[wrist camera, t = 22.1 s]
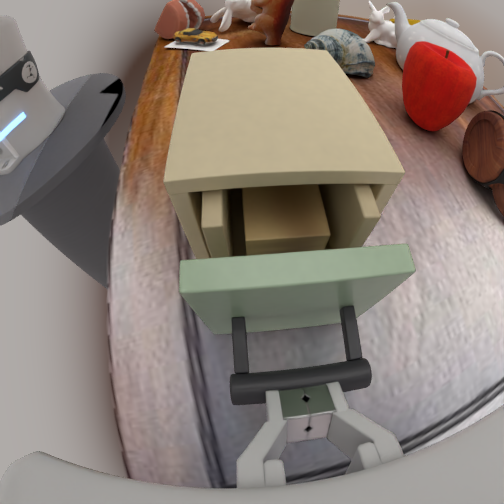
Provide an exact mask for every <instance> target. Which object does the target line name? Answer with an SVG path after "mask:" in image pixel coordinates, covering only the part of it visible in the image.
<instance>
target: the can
mask: <svg viewBox="0 0 504 504" xmlns="http://www.w3.org/2000/svg"><path fill="white" fill-rule="evenodd" d="M339 2H340V0H294V3H293V5H292V15H291V25H290V29H291V30H293V31H295V32H297V33H301V34H304V35H309V36H318V35H319V34H320V33H322V32H324V31H326V30H329V29H336V25H337V17H338V10H339Z"/></svg>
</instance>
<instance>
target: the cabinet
mask: <svg viewBox="0 0 504 504" xmlns="http://www.w3.org/2000/svg"><path fill="white" fill-rule="evenodd" d="M404 174H405V171H404V169H403V167H402V165H401V163H400V161H399V159H398V157H397V155H396V153H395V151H394V150H393V148H392V146H391V144H390V142H389V140H388V139H387V137H386V135H385V133H384V132H383V130H382V128H381V127H380V125H379V123H378V122H377V120H376V118H375V117H374V115H373V114H372V112H371V110H370V109H369V107H368V106H367V104H366V103H365V101H364V100H363V98H362V97H361V95H360V94H359V92H358V91H357V89H356V88H355V87H354V85H353V84H352V82H351V81H350V80H349V78H348V77H347V76H346V74H345V73H344V72H343V70H342V69H341V68H340V66H339V65H338V64H337V62H336V61H335V60H334V59H333V57H332V56H331V55H330V54H329V52H328V51H327V50H316V49H301V48H243V49H228V50H217V51H207V52H199V53H192V55H191V58H190V62H189V65H188V69H187V72H186V76H185V80H184V84H183V88H182V92H181V96H180V100H179V104H178V108H177V113H176V117H175V122H174V126H173V131H172V136H171V141H170V146H169V151H168V157H167V162H166V168H165V174H164V181H163V183H164V185H165V187H166V190H167V192H168V194H169V197H170V199H171V202H172V204H173V206H174V209H175V211H176V214H177V216H178V218H179V221H180V223H181V225H182V228H183V230H184V232H185V235H186V237H187V239H188V241H189V244H190V246H191V248H192V250H193V253H194V255H195V257H196V259H207V258H211V255H210V252H209V249H208V246H207V243H206V240H205V237H204V234H203V231H202V228H201V222H202V191H208V190H219V189H232V188H245V187H260V186H279V185H302V184H369V186H370V188H371V191H372V193H373V196H374V199H375V201H376V204H377V207H378V210H379V213H380V214H381V213H382V211H383V209H384V208H385V206H386V204H387V203H388V201H389V199H390V198H391V196H392V194H393V193H394V191H395V189H396V188H397V186H398V184H399V183H400V181H401V180H402V178H403V176H404Z"/></svg>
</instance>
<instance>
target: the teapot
mask: <svg viewBox="0 0 504 504" xmlns="http://www.w3.org/2000/svg"><path fill="white" fill-rule="evenodd" d="M386 5H387V6H388V7H391V8H392V9H393V11H394V14H395V36H396V40H397V48H396V58H397V62H398V64H399V66H400V67H401V68H402V69H404V63H405V60H406V57H407V54H408V52H409V49H410V48H411V47H412V46H413V45H414V43H415V42H420V41H426V42H429V43H432V44H435V45H438V46H441V47H443V48H446V49H448V50H450V51H452V52H454V53H455V54H456V55H458V56H459V57H461V58H462V59H463V60H464V61H465V62H466V63H467V64H468V65H469V66H470V67H471V68H472V70H473V72H474V74H475V76H476V77H477V80H476V88H475V90H474V93H473V96H472V98H471V101H470V102H469V103H472V102H474V101H475V100H476V99H477V100H480V99H482V98H483V97H484V96H487V95H500V94H503V93H504V86H503V87H502V88H500V89H497V90H482V88H483V84H484V71H483V67H484V65H485V59H486V58H487V57H488V56H495V57H497V58H498V59H499V60H500V61H501V62H502V63H503V65H504V58H503V57H502V56H501V55H499V54H498V53H496V52H493V51H487V52H485V53H483V54H482V56H481V57H480V56H479V50H478V49H477V48H476V47H475V46H474V45H473V43H472V42H471V40H470V39H469V38H468V37H467V36H466V35H465V34H464V33H462V32H461V31H460V30H458V29H457V28H458V27H459V24H458V23H457V22H455V21H453V20H451V19H448V18H447V19H446V22H447V23H445V22H442V21H439V20H434V19H427V20H421V21H420V22H419V23H416V24H414V25H410V24H409V23H408V20H407V18H406V15H405V12H404V10H403V8H402V6H401V5H400V4H399V3H397V2H392V3H388V4H386Z"/></svg>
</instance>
